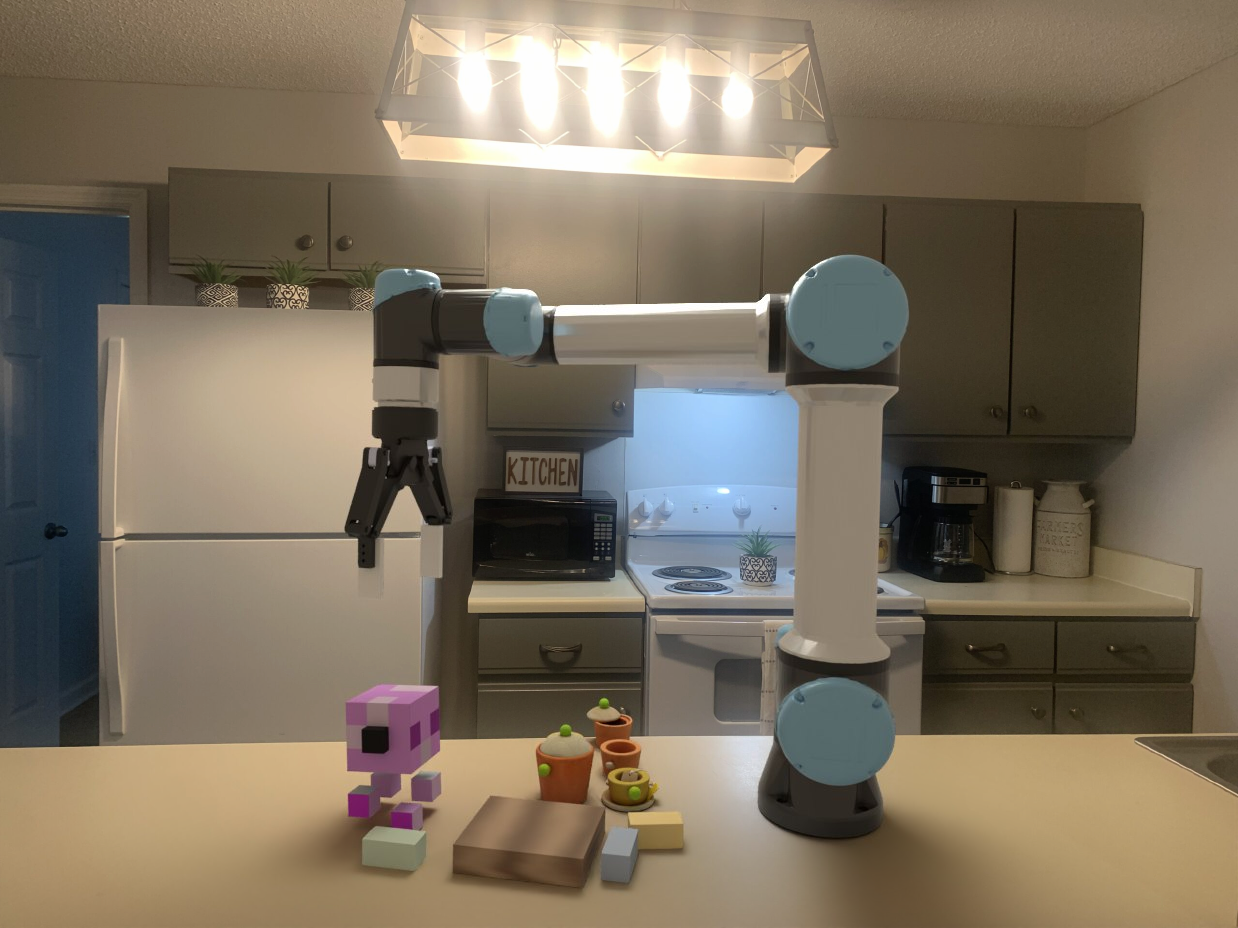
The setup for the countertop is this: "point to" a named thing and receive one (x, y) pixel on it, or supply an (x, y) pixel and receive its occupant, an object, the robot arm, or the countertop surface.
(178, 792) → the countertop surface
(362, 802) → the toy
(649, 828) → the brick ochre
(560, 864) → the pedestal
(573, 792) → the toy tea set
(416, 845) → the brick sage
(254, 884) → the countertop surface
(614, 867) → the brick slate
